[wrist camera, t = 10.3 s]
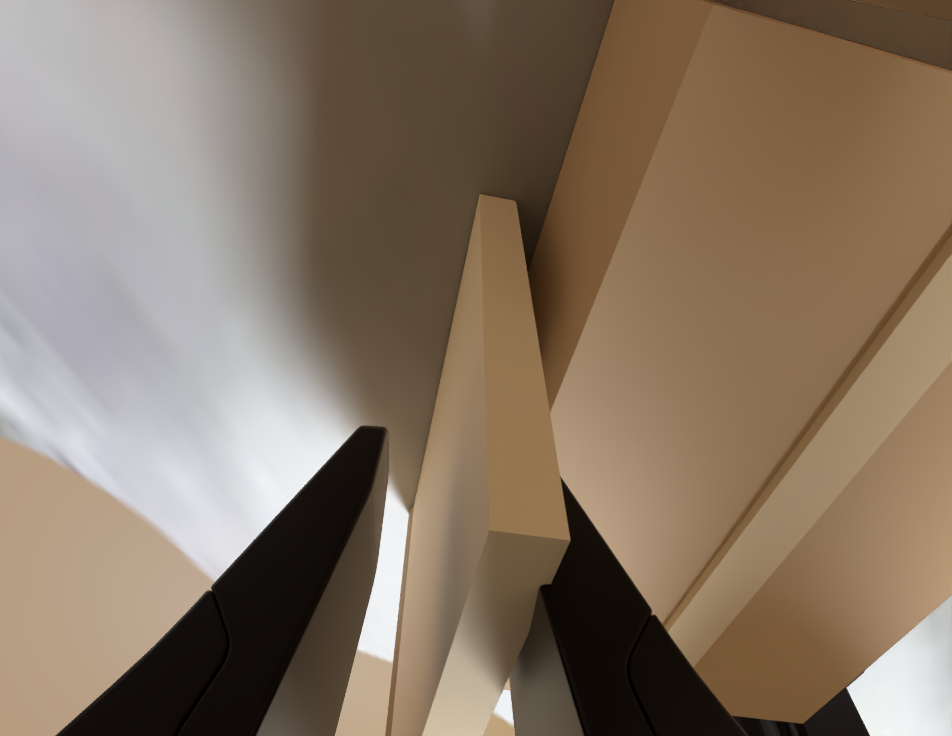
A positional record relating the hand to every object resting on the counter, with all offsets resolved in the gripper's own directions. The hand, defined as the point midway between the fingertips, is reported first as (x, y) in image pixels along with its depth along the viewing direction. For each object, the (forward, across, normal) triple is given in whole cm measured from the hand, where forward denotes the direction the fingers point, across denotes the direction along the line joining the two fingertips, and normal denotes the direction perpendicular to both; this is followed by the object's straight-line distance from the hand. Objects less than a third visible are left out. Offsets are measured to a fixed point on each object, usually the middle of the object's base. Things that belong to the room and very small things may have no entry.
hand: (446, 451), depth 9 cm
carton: (+6, -6, +2) cm, 9 cm away
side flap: (+6, 0, +4) cm, 7 cm away
